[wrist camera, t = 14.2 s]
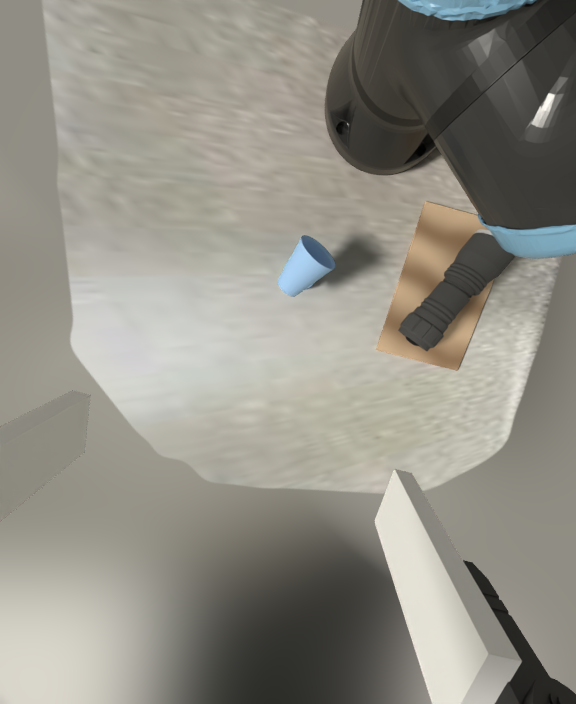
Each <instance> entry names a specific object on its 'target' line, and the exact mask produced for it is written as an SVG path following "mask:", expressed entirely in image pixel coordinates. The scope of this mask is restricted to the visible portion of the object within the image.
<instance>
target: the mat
mask: <svg viewBox="0 0 576 704" xmlns="http://www.w3.org/2000/svg"><path fill="white" fill-rule="evenodd" d="M480 229H485V230H489V229H487V228H486V227H485V226H483V225H482V224H481V223H480V221H479V219H478V215H474V214H470V213H467V212H463V211H459V210H456V209H452V208H448V207H445V206H441V205H437V204H434V203H430V202H425V204H424V207H423V210H422V213H421V216H420V219H419V222H418V225H417V228H416V231H415V234H414V237H413V240H412V243H411V246H410V249H409V252H408V255H407V258H406V261H405V264H404V267H403V270H402V273H401V276H400V279H399V282H398V285H397V288H396V291H395V294H394V297H393V300H392V303H391V306H390V309H389V312H388V315H387V318H386V321H385V324H384V327H383V330H382V333H381V336H380V339H379V342H378V345H377V348H376V350H378V351H382V352H386V353H390V354H394V355H398V356H402V357H405V358H409V359H413V360H417V361H421V362H425V363H429V364H433V365H437V366H441V367H445V368H449V369H452V370H456V371H457V370H458V368H459V365H460V363H461V361H462V358H463V356H464V353H465V351H466V348H467V346H468V343H469V341H470V338H471V336H472V333H473V331H474V328H475V326H476V323H477V321H478V318H479V316H480V314H481V311H482V309H483V306H484V304H485V301H486V299H487V296H488V294H489V291H490V289H491V286H492V284H493V281H494V279H493V280H492V281H490V282H489V283H488V284H487V286H486V287H485V288H484V289H483V291H481V293H480V294H479V295H476V296H474V295H473V296H472V297H471V298H469V299H470V301H469V302H468V303H467V304H466V305H465V306H464V308H463V309H462V310H461V311H460V312H459V313H458V315H457V316H456V318H455V320H453V321H452V323H451V324H449V325H448V328H447V330H446V331H445V332H444V333H443V336H444V337H443V338H442V339H441V340H440V341H439V342H438V344H437V345H436V346H435V347H434V348H430V349H429V350H428V351H425V350H424V349H422V348H421V347H419V346H415V345H413V344H411V343H410V342H409V341H407V340H406V337H405V336H404V335H403V334H402V333H400V332H399V331H398V330H399V328H400V327H401V326H400V324H401V322H402V321H403V320H404V319H405V318H406V316H407V315H408V314H409V313H411V312H413V311H414V310H415V309H416V308H417V307H418V306H419V307H420V305H421V302H423V301H424V299H425V298H427V297H428V296H429V295H430V293H431V292H432V291H433V290H434V289H435V287H436V286H437V285H438V284H439V283H440V282H441V281H443V279H444V278H445V277H444V272H445V271H446V270H447V268H448V267H450V265H451V264H452V263H453V262H454V260H455V258H456V256H457V254H458V252H459V251H460V250H461V248H462V247H463V246H464V245H465V244H466V242H467V241H468V240H469V239H470V238H471V236H472V235H473V234H474V233H475V232H476V231H477V230H480Z"/></svg>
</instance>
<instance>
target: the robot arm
mask: <svg viewBox="0 0 576 704" xmlns="http://www.w3.org/2000/svg"><path fill="white" fill-rule="evenodd" d="M325 119H326V125H327V129H328V132H329V135H330V138H331V140H332V142H333V144H334V146H335V148H336V149H337V151H338V152H339V153H340V155H341V156H342V157H343V158H344V159H345V160H346V161H347V162H348V163H350V164H351V165H352V166H354V167H356V168H357V169H359V170H361V171H364V172H367V173H370V174H376V175H390V174H396V173H400V172H403V171H405V170H408V169H410V168H412V167H413V166H415V165H417V164H418V163H419V162H421V161H422V160H423V159H424V158H426V157H427V156H428V155H429V154H430V153H431V152H432V151H433V150H434V149H435V148H436V147H437V148H438V150H439V151H440V153H441V155H442V156H443V158H444V159H445V161H446V162H447V164H448V166H449V167H450V169H451V170H452V172H453V174H454V175H455V177H456V178H457V180H458V182H459V183H460V185H461V186H462V188H463V190H464V191H465V193H466V194H467V196H468V198H469V199H470V201H471V202H472V204H473V205H474V207H475V209H476V210H477V212H478V219H479V221H480V223H481V224H482V225H483V226H485V227H486V228H487V229H489V230H490V232H491V233H492V235H493V236H494V238H495V239H496V240H497V242H498V243H499V245H500V246H501V247H502V248H503V249H504V250H505V251H507V252H509V253H512V254H513V255H516V256H518V257H522V258H532V259H542V258H553V257H560V256H565V255H571V254H575V253H576V0H363V1H362V6H361V11H360V15H359V20H358V24H357V28H356V30H355V31H354V32H353V34H352V35H351V36H350V38H349V39H348V40H347V42H346V43H345V44H344V46H343V47H342V49H341V50H340V52H339V54H338V56H337V58H336V60H335V62H334V64H333V67H332V70H331V72H330V76H329V80H328V85H327V91H326V98H325ZM89 405H90V395H89V394H85V393H81V392H76V391H70V392H68V393H66V394H64V395H62V396H60V397H58V398H56V399H54V400H52V401H51V402H48V403H46V404H44V405H42V406H40V407H38V408H36V409H34V410H32V411H30V412H28V413H26V414H24V415H23V416H20V417H18V418H16V419H14V420H12V421H10V422H8V423H6V424H4V425H2V426H0V521H2V520H3V519H4V518H5V517H6V516H8V515H9V514H10V513H11V512H12V511H14V510H15V509H16V508H17V507H19V506H20V505H21V504H22V503H24V502H25V501H26V500H27V499H28V498H30V497H31V496H32V495H33V494H35V493H36V492H37V491H38V490H39V489H41V488H42V487H43V486H44V485H45V484H47V483H48V482H49V481H50V480H52V479H53V478H54V477H55V476H56V475H57V474H59V473H60V472H61V471H63V470H64V469H65V468H66V467H67V466H69V465H70V464H71V463H72V462H73V461H75V460H76V459H77V458H78V457H80V456H81V455H82V454H83V453H84V452H85V443H86V434H87V424H88V415H89ZM374 522H375V525H376V528H377V531H378V534H379V537H380V541H381V544H382V547H383V550H384V553H385V556H386V560H387V563H388V566H389V569H390V572H391V575H392V578H393V582H394V585H395V588H396V591H397V594H398V597H399V601H400V603H401V607H402V610H403V613H404V616H405V619H406V623H407V626H408V629H409V632H410V635H411V638H412V642H413V645H414V648H415V651H416V654H417V657H418V660H419V664H420V667H421V670H422V673H423V676H424V679H425V683H426V686H427V689H428V692H429V695H430V698H431V701H432V704H576V694H575V693H574V692H573V691H571V690H570V689H569V688H568V687H566V686H565V685H563V684H561V683H560V682H558V681H557V680H555V679H552V678H550V677H549V675H548V673H547V672H546V670H545V669H544V667H543V666H542V664H541V662H540V661H539V659H538V658H537V656H536V654H535V653H534V651H533V650H532V648H531V647H530V645H529V643H528V642H527V640H526V639H525V637H524V636H523V634H522V633H521V631H520V629H519V628H518V626H517V625H516V623H515V621H514V620H513V618H512V617H511V616H510V615H509V614H508V610H507V609H506V607H505V606H504V604H503V602H502V601H501V600H499V596H498V595H497V593H496V591H495V590H494V588H493V587H492V585H491V583H490V582H489V580H488V579H487V578H486V577H485V576H484V575H483V573H482V572H481V571H480V570H479V569H478V568H477V567H476V566H475V565H474V564H473V563H472V562H468V561H464V560H462V558H461V556H460V555H459V553H458V551H457V550H456V548H455V546H454V544H453V543H452V542H451V539H450V538H449V536H448V534H447V533H446V531H445V529H444V528H443V526H442V524H441V522H440V521H439V519H438V517H437V515H436V514H435V512H434V510H433V509H432V507H431V505H430V504H429V502H428V500H427V498H426V497H425V495H424V493H423V492H422V490H421V488H420V487H419V485H418V483H417V481H416V480H415V478H414V476H413V475H412V473H409V472H405V471H401V470H397V469H394V472H393V474H392V477H391V479H390V482H389V485H388V487H387V490H386V492H385V495H384V498H383V500H382V503H381V506H380V508H379V511H378V513H377V516H376V519H375V521H374Z"/></svg>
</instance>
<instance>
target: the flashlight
mask: <svg viewBox="0 0 576 704" xmlns="http://www.w3.org/2000/svg"><path fill="white" fill-rule="evenodd" d="M515 256H516V255H513V254H512V253H509V252H507V251H505V250H504V249H503V248H502V247H501V246H500V245H499V243H498V242H497V240H496V239H495V238H494V236H493V235H492V233H491V232H490V230H485V229H480V230H477V231H476V232H475V233H474V234H473V235H472V236H471V238H470V239H469V240H468V241H467V242H466V244H465V245H464V246H463V247H462V248H461V250H460V251H459V252H458V254H457V256H456V258H455V260H454V262H453V263H452V264H451V265H450V267H448V268H447V270H446V271H445V272H444V277H445V278H444V279H443V281H441V282H440V283H439V284H438V285H437V286H436V287H435V289H434V290H433V291H432V292H431V293H430V295H429V296H428V297H427V298H425V299H424V301H423V302H421V305H420V307H419V306H418V307H417V308H416V309H415V310H414V311H413V312H411V313H409V314H408V315H407V316H406V318H405V319H404V320H403V321H402V322H401V324H400V326H401V327H400V328H399V330H398V331H399V332H400V333H402V334H403V335H404V336H405V337H406V340H407V341H409V342H410V343H411V344H413V345H415V346H419V347H421V348H422V349H424V350H425V351H428V350H429V349H430V348H434V347H435V346H436V345H437V344H438V342H439V341H440V340H441V339H442V338H443V337H444V336H443V333H444V332H445V331H446V330H447V328H448V325H449V324H451V323H452V321H453V320H455V318H456V316H457V315H458V313H459V312H460V311H461V310H462V309H463V308H464V306H465V305H466V304H467V303H468V302H469V301H470V299H469V298H471V297H472V296H473V295H474V296H476V295H479V294H480V293H481V291H483V289H484V288H485V287H486V286H487V284H488V283H489V282H490V281H492V280H493V279H495V278H496V277H497V276H499V274H500V273H501V272H502V271H503V270H504V269H505V268H506V266H507V265H508V264H509V263H510V262H511V261H512V260H513V259H514V257H515Z"/></svg>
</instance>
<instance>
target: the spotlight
mask: <svg viewBox="0 0 576 704" xmlns="http://www.w3.org/2000/svg"><path fill="white" fill-rule="evenodd" d="M334 268H335V262H334V259H333V258H332V256H331V255H330V253H329V252H328V251H327V250H326V249H325V248H324V247H323V246H322V245H321V244H320V243H319V242H318V241H316V240H315V239H313V238H311V237H309V236H306V235H304V236H302V237H301V239H300V241H299V243H298V244H297V246H296V248H295V250H294V252H293V253H292V255H291V257H290V259H289V260H288V261H287V263H286V264H285V267H284V270H283V272H282V273H281V275H280V277H279V279H278V285H279V287H280V288H281V290H282V291H283V292H284V293H286V294H287V295H289V296H292V297H295V296H296V295H298V294H299V293H301V292H302V291H303V290H305V289H308V288H310V287H311V286H313V284H314V283H315V282H316V281H317V280H319V279H320V278H322V277H323V276H324V275H326V274H327V273H329V272H330V271H332V270H333V269H334Z"/></svg>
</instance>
